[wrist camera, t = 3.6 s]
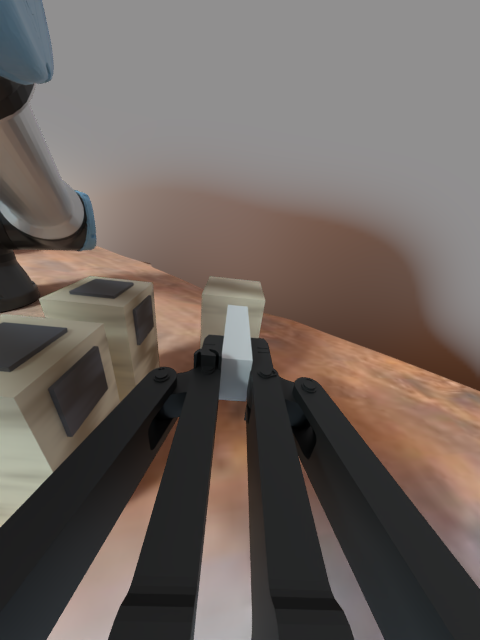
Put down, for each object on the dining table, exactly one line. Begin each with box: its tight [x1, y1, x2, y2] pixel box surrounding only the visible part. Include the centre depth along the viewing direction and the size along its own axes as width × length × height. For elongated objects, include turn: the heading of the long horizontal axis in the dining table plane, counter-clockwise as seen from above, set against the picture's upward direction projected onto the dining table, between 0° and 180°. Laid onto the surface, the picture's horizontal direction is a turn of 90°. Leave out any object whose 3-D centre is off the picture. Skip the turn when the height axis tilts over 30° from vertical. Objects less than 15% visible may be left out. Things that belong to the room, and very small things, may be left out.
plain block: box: [200, 276, 265, 349], centre depth 30 cm, size 7×7×14 cm
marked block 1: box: [39, 276, 160, 402], centre depth 24 cm, size 7×7×14 cm
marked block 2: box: [0, 314, 120, 527], centre depth 16 cm, size 7×7×14 cm
